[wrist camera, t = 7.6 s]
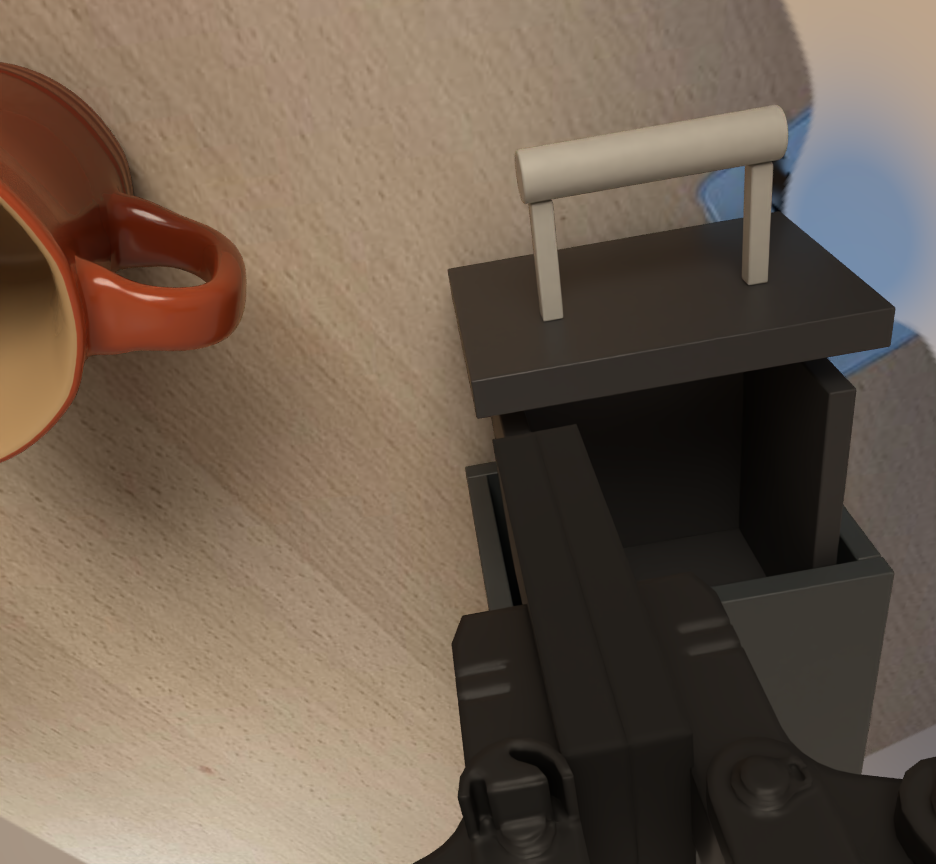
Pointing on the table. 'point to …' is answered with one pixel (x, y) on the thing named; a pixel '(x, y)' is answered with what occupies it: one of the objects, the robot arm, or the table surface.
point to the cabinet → (768, 629)
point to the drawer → (681, 354)
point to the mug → (88, 258)
